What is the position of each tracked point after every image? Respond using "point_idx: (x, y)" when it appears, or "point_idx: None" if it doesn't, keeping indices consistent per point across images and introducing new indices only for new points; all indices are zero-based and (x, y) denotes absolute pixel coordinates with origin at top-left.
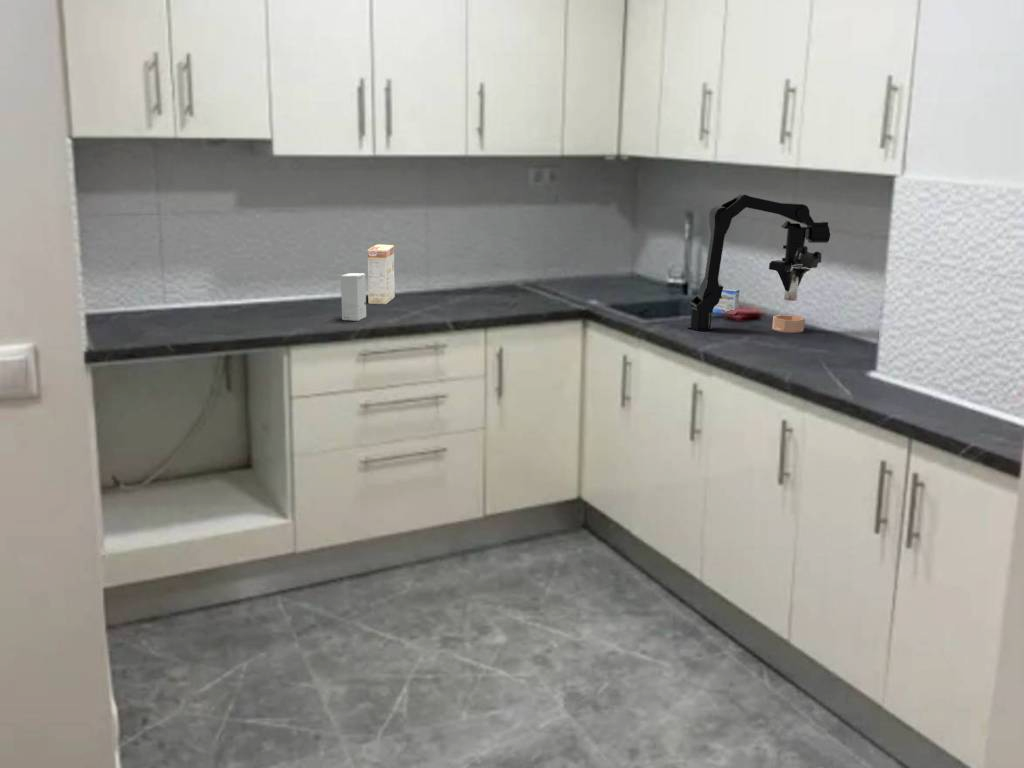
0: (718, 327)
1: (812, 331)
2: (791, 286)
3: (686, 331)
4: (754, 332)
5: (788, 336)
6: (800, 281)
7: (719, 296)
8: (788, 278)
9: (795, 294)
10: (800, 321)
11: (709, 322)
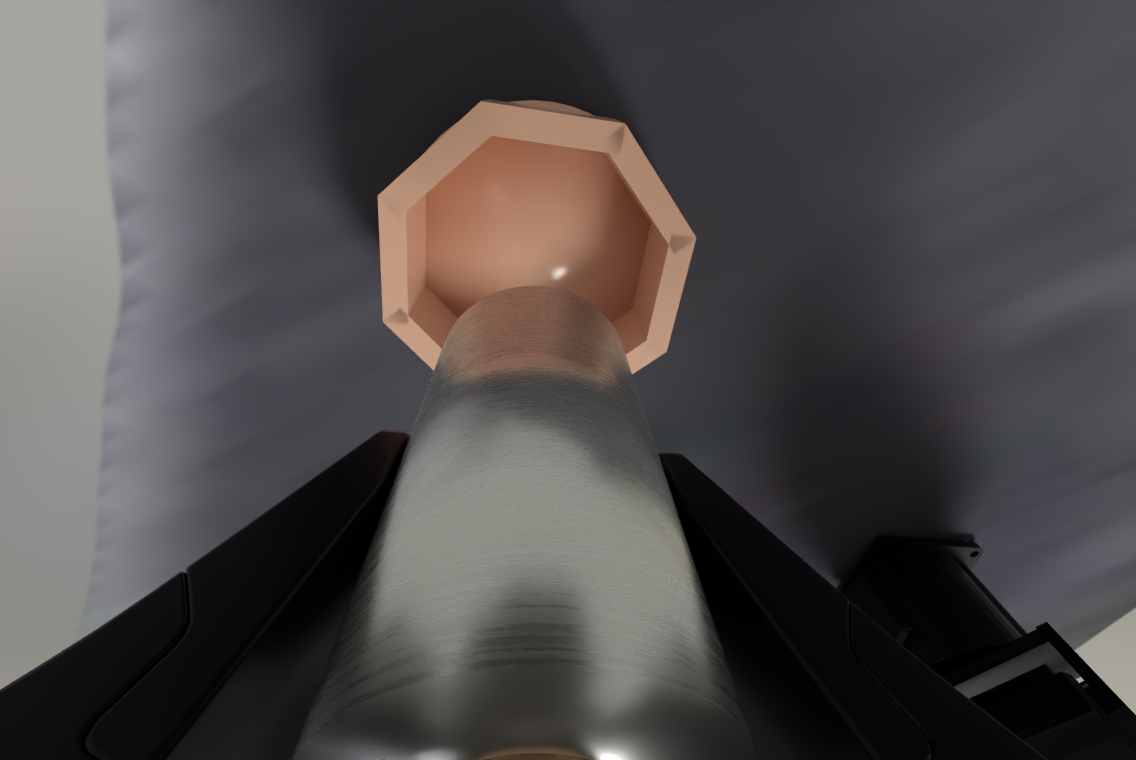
0: (795, 550)
1: (409, 33)
2: (666, 487)
3: (1003, 579)
4: (818, 359)
5: (819, 83)
6: (225, 542)
7: (1125, 737)
8: (981, 718)
9: (567, 331)
10: (566, 114)
11: (926, 580)
